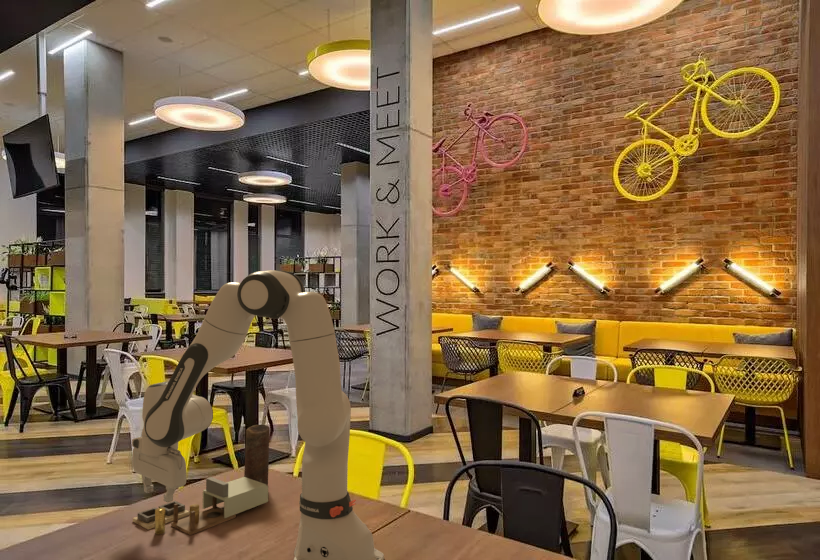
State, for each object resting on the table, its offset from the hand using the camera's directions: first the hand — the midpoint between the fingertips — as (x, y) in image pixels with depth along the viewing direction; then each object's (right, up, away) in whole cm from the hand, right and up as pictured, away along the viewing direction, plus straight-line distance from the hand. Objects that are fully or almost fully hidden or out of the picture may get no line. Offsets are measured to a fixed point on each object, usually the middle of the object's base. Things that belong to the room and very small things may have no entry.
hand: (158, 496), depth 148 cm
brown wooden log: (+18, -10, +30) cm, 36 cm away
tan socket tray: (-3, -9, +9) cm, 13 cm away
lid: (+16, -8, +15) cm, 23 cm away
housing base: (+9, -10, +7) cm, 15 cm away
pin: (0, -9, 0) cm, 9 cm away
